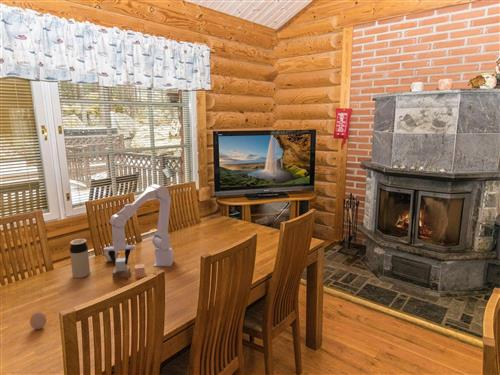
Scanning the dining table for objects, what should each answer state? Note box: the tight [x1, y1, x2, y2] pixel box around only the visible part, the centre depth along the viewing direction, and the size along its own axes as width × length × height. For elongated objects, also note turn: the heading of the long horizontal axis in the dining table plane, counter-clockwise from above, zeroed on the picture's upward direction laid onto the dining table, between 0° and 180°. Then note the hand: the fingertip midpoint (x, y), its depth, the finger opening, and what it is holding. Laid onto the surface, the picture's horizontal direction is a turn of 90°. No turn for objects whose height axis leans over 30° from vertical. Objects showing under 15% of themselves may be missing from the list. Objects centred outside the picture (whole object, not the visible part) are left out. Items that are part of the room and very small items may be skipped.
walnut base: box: [111, 265, 131, 281], centre depth 168 cm, size 7×7×4 cm
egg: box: [29, 310, 47, 330], centre depth 125 cm, size 5×5×7 cm
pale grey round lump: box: [102, 251, 120, 263], centre depth 186 cm, size 9×8×10 cm
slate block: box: [115, 257, 128, 271], centre depth 168 cm, size 4×4×5 cm
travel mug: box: [69, 238, 91, 279], centre depth 168 cm, size 8×8×18 cm
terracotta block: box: [134, 263, 146, 279], centre depth 170 cm, size 4×4×5 cm
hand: (120, 264), depth 168 cm, fingers open, 5 cm apart
